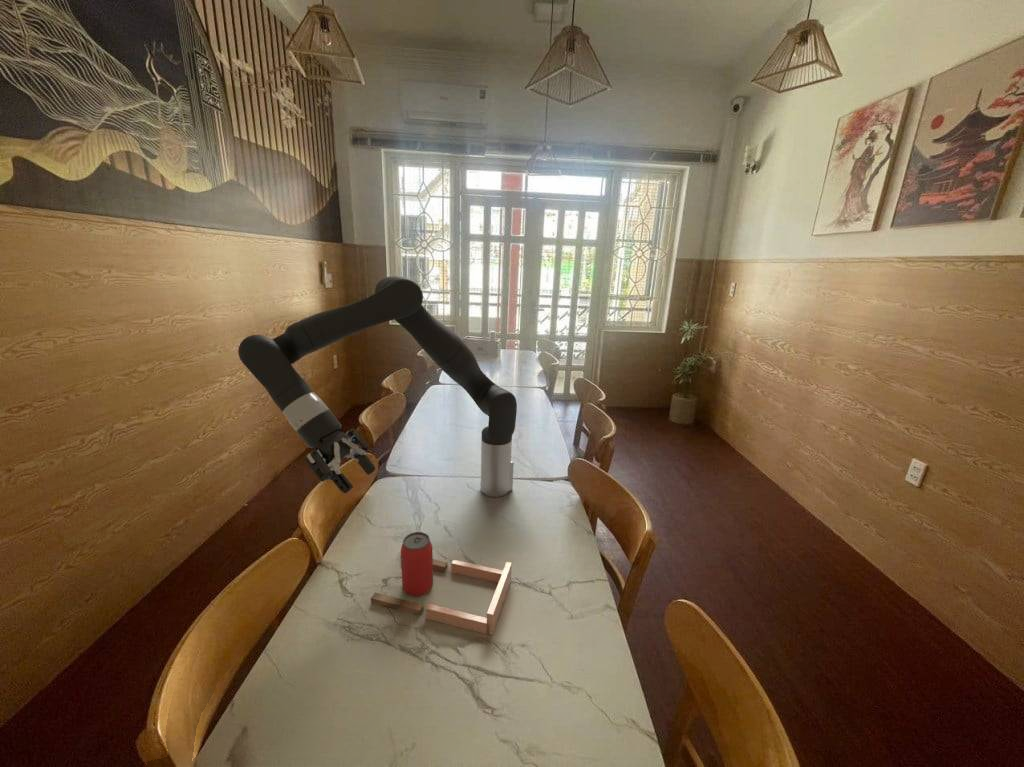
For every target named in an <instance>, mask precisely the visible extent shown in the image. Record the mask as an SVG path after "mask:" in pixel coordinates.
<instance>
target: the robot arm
mask: <svg viewBox="0 0 1024 767" xmlns="http://www.w3.org/2000/svg"><path fill="white" fill-rule="evenodd" d="M423 299H424V294H423V290H422V288H421V287H420V285H419V284H418V283H417V282H416V281H415V280H412V279H411V278H408V277H406V276H405V277H404V276H398V275H397V276H396V275H394V276H393V275H392V276H390V275H389V276H386V277H383V278H382V279H380V280H379V281H378V282H377V283H376V285H375V289H374V293H373V294H371V295H370V296H367V297H365V298H362V299H361V300H357V301H355V302H352V303H348V304H345V305H341V306H338V307H335V308H331V309H327V310H325V311H321V312H317V313H315V314H313V315H310V316H308V317H304V318H302V319H301V320H298V321H296V322H294V323H292V324H290V325H288V326H287V327H286V329H285V331H284V332H283V333H282V334H280V335H278V336H276V337H274V338H271V337H269V336H268V335H267V336H266V335H264V334H251V335H248V336H246V337H244V339H242V340H241V342H239V343H240V344H239V346H238V350H237V354H238V357H239V360H240V361H241V363H242V364H243V365H244V366H245V367H246V369H247V370H248V371H249V372H250V374H251V375H252V376H254V378H255V379H257V381H258V382H259V383H260V384H261V385H262V386H263V388H264V389H265V390H266V391H267V393H268V395H269V397H270V398H271V399H272V401H273V402H274V403H275V405H276V406H277V407H278V408H279V410H280V411H281V412H282V413H283V415H284V417H285V418H286V420H287V422H288V423H289V424H290V426H291V427H292V428H293V430H295V432H296V433H297V435H298V436H299V437H300V438H301V439H302V441H303V442H304V443H305V444H306V446H307V447H308V448H310V449H312V448H313V450H312V451H311V452H310V453H308V454H306V456H305V457H304V460H305V461H306V463H307V464H308V466H309V467H310V468H311V470H312V471H313V473H314V474H315V476H317V478H318V480H319V481H321V482H322V483H323V482H325V481H332V482H333V483H334V485H335V486H336V487H337V488H338V489H339V491H340V492H341V493H343V494H347V493H348V492H350V491H351V490H352V489H353V487H354V486H353V484H352V483H351V482H350V481H349V479H348V478H347V477H346V475H345V474H344V473H343V472H341V462H342V461H341V460H343V459H344V458H347V459H349V458H351V459H353V460H355V461H357V464H358V465H359V466H360V467H361V468H362V469H363V471H364V472H365V474H366V475H368V476H369V475H370V474H372V473H374V472H375V471H376V467H375V464H374V463H373V462H372V461H371V459H370V458H369V456H367V454H368V453H367V452H368V451H369V450H370V446H369V445H368V444H367V443H366V441H365V440H364V439H363V438H362V436H360V435H359V433H358V432H357V431H356V429H354V428H351V429H349V430H348V431H347V432H345V433H344V432H343V431H342V423H341V422H340V421H339V420H338V418H337V417H336V416H335V415H334V413H333V412H332V411H331V410H330V408H329V407H328V405H327V404H326V403H325V402H324V400H322V399H321V398H320V397H319V396H318V395H317V394H316V393H315V391H314V390H313V389H312V388H311V387H310V385H309V384H308V382H306V380H305V378H303V377H302V376H301V374H300V373H298V372H297V370H295V368H294V366H293V364H295V363H297V362H298V361H300V360H301V359H302V358H304V357H305V356H307V355H309V354H312V353H314V352H315V353H316V352H317V351H319V350H321V349H323V348H325V347H328V346H330V345H332V344H334V343H336V342H339V341H342V340H343V339H345V338H347V337H350V336H352V335H354V334H356V333H359V332H361V331H363V330H366V329H369V328H371V327H374V326H378V325H380V324H384V323H387V322H391V321H395V322H396V323H398V324H399V325H400V326H401V327H403V329H405V330H406V332H408V333H409V334H410V335H411V337H412V338H413V339H414V340H415V341H416V342H417V344H418V345H419V346H420V347H421V348H422V349H423V351H424V352H425V353H426V354H427V355H428V356H429V357H430V358H431V360H432V361H433V362H434V363H435V364H436V366H437V367H439V368H440V369H441V370H442V371H443V372H444V373H445V374H446V375H447V376H448V377H450V379H452V381H454V382H455V384H458V385H459V386H460V387H462V388H463V390H465V391H466V393H467V394H468V395H469V397H470V398H471V399H472V400H473V402H474V403H475V404H476V406H477V407H478V408H479V410H480V412H482V413H483V414H484V415H485V416H487V417H488V425H487V426H485V427H483V429H482V430H481V441H480V442H481V443H480V444H481V446H480V447H481V448H480V450H481V452H480V491H481V493H482V494H484V495H485V496H488V497H493V498H494V497H495V498H496V497H497V498H498V497H503V496H506V495H508V494H509V492H511V491H513V489H514V488H513V487H514V485H513V483H514V464H515V463H514V461H512V446H513V434H514V432H515V430H516V422H517V411H518V405H517V402H518V401H517V399H516V397H515V395H514V394H513V393H512V392H510V391H508V390H507V389H504V388H503V387H501V386H499V385H497V384H496V383H495V382H494V381H492V380H491V379H490V378H489V377H488V376H487V375H486V374H485V373H484V372H483V371H482V370H481V368H480V366H479V363H478V361H477V359H476V357H475V355H474V353H473V352H472V350H471V349H470V348H469V347H468V345H466V344H465V342H464V341H463V340H462V339H461V338H460V336H458V335H457V334H456V333H455V332H454V331H453V330H452V329H451V328H449V327H448V326H446V325H445V324H444V323H443V322H441V321H440V320H438V319H437V318H436V317H434V316H433V315H432V314H431V313H430V312H429V311H428V310H427V309H426V308H425V307H424V305H423V304H422V303H423V302H424V300H423ZM359 445H360V446H361V447H362V448H361V447H360V446H359Z"/></svg>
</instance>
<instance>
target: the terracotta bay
mask: <svg viewBox="0 0 1024 767" xmlns="http://www.w3.org/2000/svg"><path fill="white" fill-rule="evenodd" d="M512 566H513V563H512V562H508V561H506V562H505V564H504V568H503V569H499V568H494V567H489V566H485V565H480V564H475V563H471V562H466V561H462V560H456V559H453V560H452V561H451V568H450V569H451V573H453V574H457V575H463V576H466V577H471V578H476V579H479V580H485V581H489V582H494V583H497V586H496V588H495V591H494V593H493V597H492V598H491V601H490V604H489V607H488V610H487V613H486V617H484V616H480V615H476V614H472V613H467V612H464V611H460V610H455V609H452V608H447V607H443V606H438V605H436V604H432V603H431V604H430V603H428V604H427V606H426V608H425V618H426V619H427V620H431V621H433V622H434V621H435V622H438V623H442V624H443V623H444V624H447V625H450V626H451V625H452V626H454V627H459V628H463V629H466V630H470V631H474V632H478V633H481V634H482V633H483V634H484V635H485V634H486V635H490V636H493V634H494V632H495V628H496V626H497V623H498V621H499V620H498V619H499V617H500V613H501V611H502V609H503V608H502V607H503V605H504V602H505V600H506V596H507V594H508V591H509V588H510V584H511V582H512Z"/></svg>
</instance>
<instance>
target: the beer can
mask: <svg viewBox="0 0 1024 767" xmlns="http://www.w3.org/2000/svg"><path fill="white" fill-rule="evenodd" d="M400 548H401V549H400V564H401V565H400V566H401V567H400V568H401V586H402V591H403V592H404V593H405V594H406V595H409V596H412V597H420V596H424V595H425V594H427V593H429V591H430V590H432V587H433V585H434V570H433V559H434V556H433V544H432V541H431V537H430V536H429V535H428V534H427V533H425V532H421V531H415V532H411V533H408V534H407V535H406V536H405V537H404V538H403V539H402V544H401V547H400Z"/></svg>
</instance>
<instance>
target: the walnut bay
mask: <svg viewBox="0 0 1024 767" xmlns="http://www.w3.org/2000/svg"><path fill="white" fill-rule="evenodd" d="M448 565H449V564H448V562H447V561H443V560H439V559H434V558H433V571H437V572H440V573H446V571H447V570H448V567H449V566H448ZM370 604H371V605H373V606H378V607H381V608H386V609H389V610H393V611H398V612H402V613H405V614H410V615H413V616H418V617H421V616H422V614H423V612H424V604H423V603H420V602H417V601H416V602H415V601H411V600H408V599H403V598H400V597H396V596H391V595H388V594H383V593H379V592H374V593H373V594H372V596H371V597H370Z"/></svg>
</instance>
